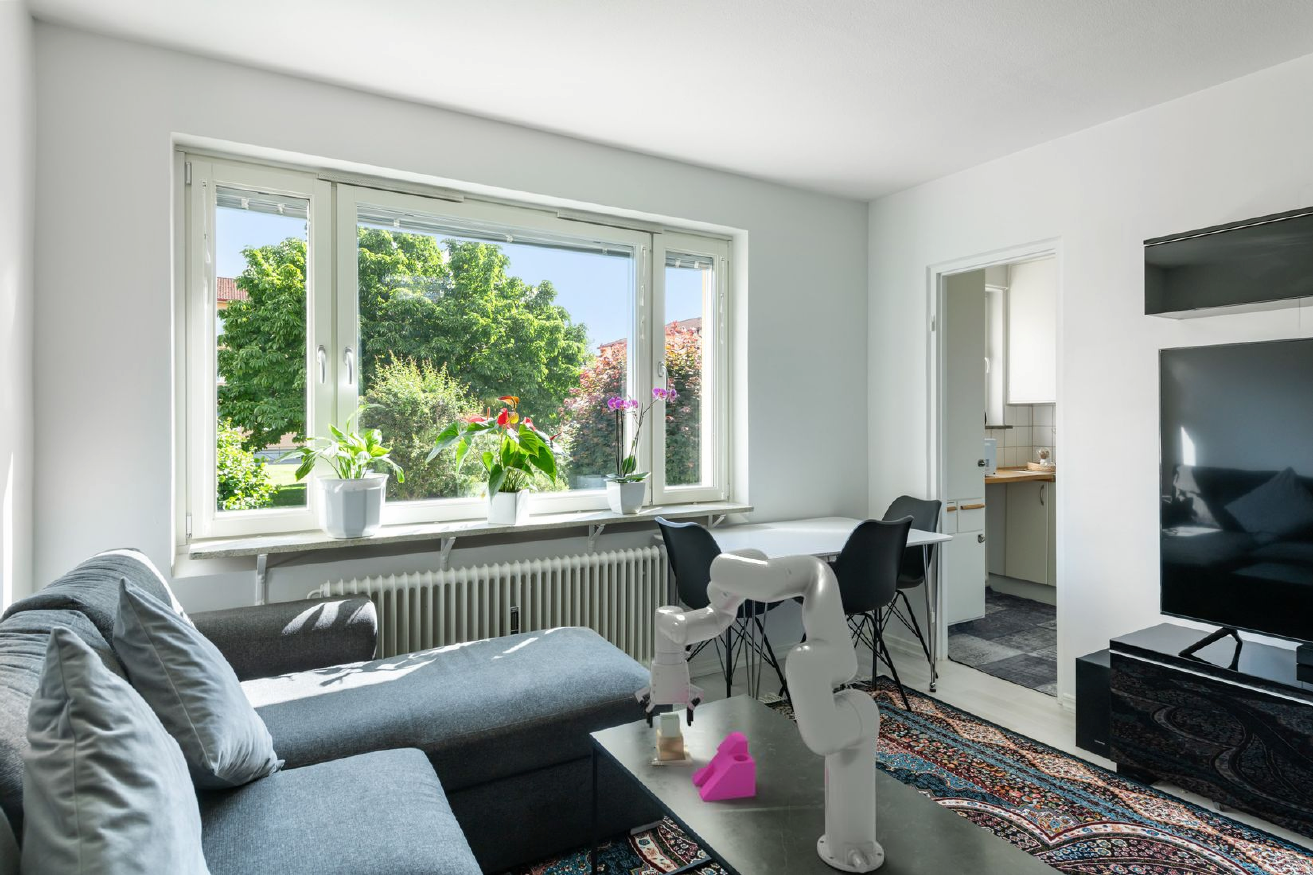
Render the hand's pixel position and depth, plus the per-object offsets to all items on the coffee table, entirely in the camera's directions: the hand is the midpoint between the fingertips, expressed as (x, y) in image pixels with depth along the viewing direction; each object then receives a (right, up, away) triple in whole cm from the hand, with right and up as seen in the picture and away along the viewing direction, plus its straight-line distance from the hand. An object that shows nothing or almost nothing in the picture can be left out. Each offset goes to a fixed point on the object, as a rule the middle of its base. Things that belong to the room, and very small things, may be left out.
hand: (669, 725), depth 180 cm
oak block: (0, -7, 0) cm, 7 cm away
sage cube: (0, -2, 0) cm, 2 cm away
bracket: (+12, -9, -15) cm, 21 cm away
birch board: (0, -8, 0) cm, 8 cm away
